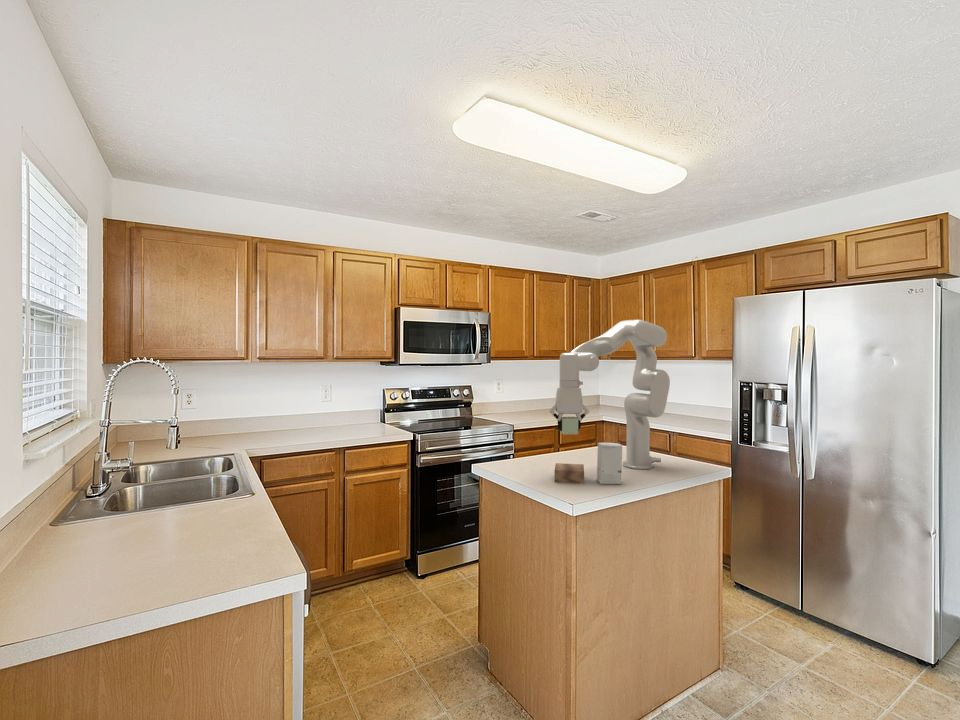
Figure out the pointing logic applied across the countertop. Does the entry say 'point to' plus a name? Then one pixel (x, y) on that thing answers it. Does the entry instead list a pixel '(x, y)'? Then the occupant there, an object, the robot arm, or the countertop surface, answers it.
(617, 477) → the skincare box
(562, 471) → the walnut block
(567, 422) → the sage cube
